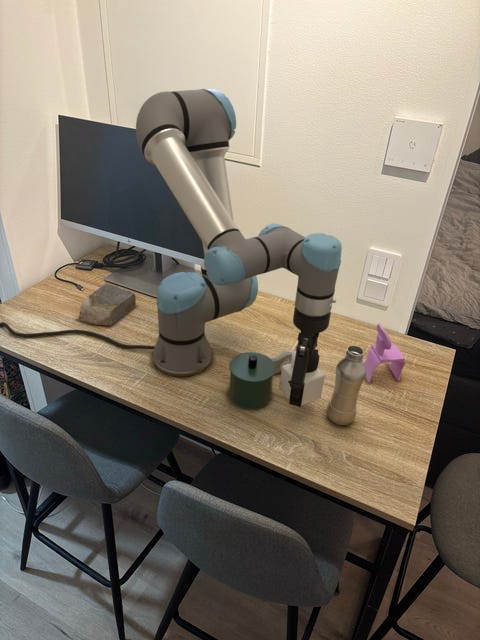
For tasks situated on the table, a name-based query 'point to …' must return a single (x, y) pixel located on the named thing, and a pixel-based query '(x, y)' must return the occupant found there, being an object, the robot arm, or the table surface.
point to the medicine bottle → (312, 379)
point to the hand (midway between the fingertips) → (300, 390)
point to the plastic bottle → (347, 386)
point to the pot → (250, 393)
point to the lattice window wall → (281, 360)
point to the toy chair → (384, 355)
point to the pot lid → (252, 367)
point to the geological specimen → (107, 305)
